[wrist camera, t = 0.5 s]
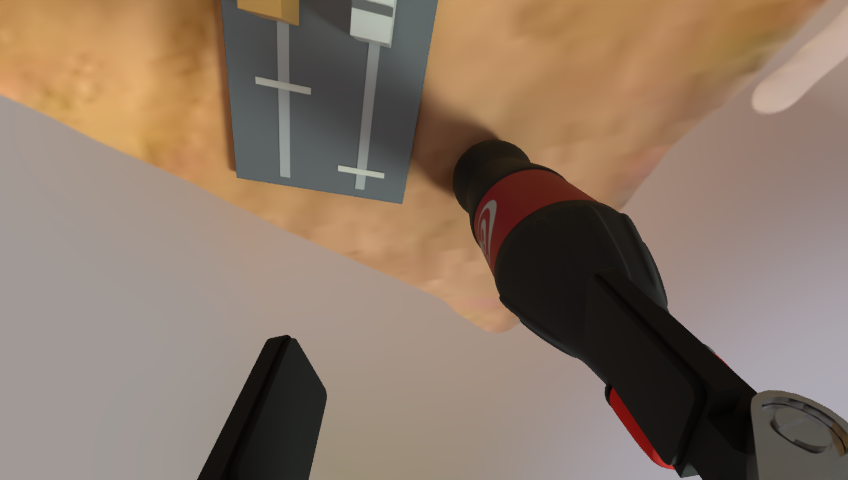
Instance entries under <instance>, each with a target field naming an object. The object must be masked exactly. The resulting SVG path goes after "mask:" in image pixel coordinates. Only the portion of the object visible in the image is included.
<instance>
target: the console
mask: <svg viewBox="0 0 848 480" xmlns="http://www.w3.org/2000/svg"><path fill="white" fill-rule="evenodd" d="M437 3H438V0H397V3H396V11H395V19H394V27H393V35H392V42H391V48H389V47H384V46H380V45H376V44H372V43H367V42H363V41H359V40H356V39H355V38H354V37H352V36H351V35H350V27H351V13H352V0H299V26H295V25H291V24H287V23H282V22H278V21H274V20H270V19H265V18H262V17H259V16H257V15H254V14H251V13H249V12H246V11H244V10H241V9H239V8H238V6H237V0H221V7H222V18H223V30H224V41H225V52H226V63H227V74H228V85H229V96H230V107H231V119H232V130H233V141H234V152H235V163H236V174H237V178H242V179H248V180H254V181H260V182H267V183H273V184H279V185H285V186H292V187H298V188H304V189H311V190H317V191H323V192H329V193H336V194H342V195H348V196H355V197H361V198H367V199H373V200H380V201H386V202H392V203H399V204H402V202H403V197H404V191H405V185H406V180H407V174H408V168H409V163H410V157H411V151H412V146H413V140H414V134H415V128H416V123H417V117H418V111H419V106H420V100H421V94H422V89H423V83H424V77H425V72H426V66H427V60H428V55H429V49H430V43H431V37H432V32H433V26H434V20H435V15H436V9H437Z"/></svg>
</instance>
